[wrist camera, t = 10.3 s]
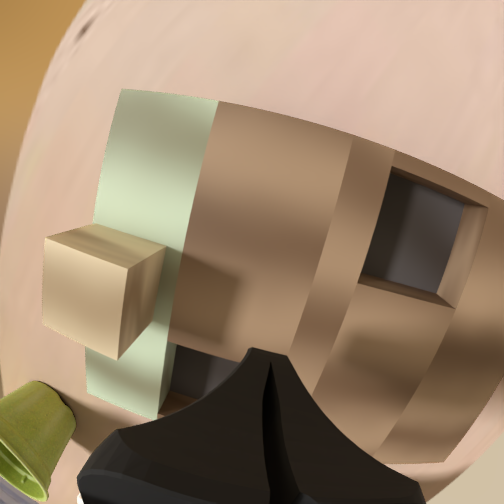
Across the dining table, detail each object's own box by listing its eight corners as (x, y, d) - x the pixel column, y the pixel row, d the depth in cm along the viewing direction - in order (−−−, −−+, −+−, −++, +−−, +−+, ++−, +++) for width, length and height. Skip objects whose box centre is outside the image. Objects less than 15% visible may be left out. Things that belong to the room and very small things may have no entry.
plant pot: (28, 420, 23) (-14, 466, 15) (6, 349, 21) (-54, 393, 13) (98, 455, 23) (61, 516, 14) (82, 385, 20) (23, 452, 12)
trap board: (431, 438, 19) (443, 462, 16) (106, 369, 20) (87, 392, 17) (530, 226, 15) (558, 233, 12) (145, 101, 16) (121, 88, 13)
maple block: (152, 320, 15) (117, 360, 11) (87, 295, 15) (42, 324, 11) (166, 246, 14) (127, 268, 10) (95, 223, 14) (45, 237, 10)
